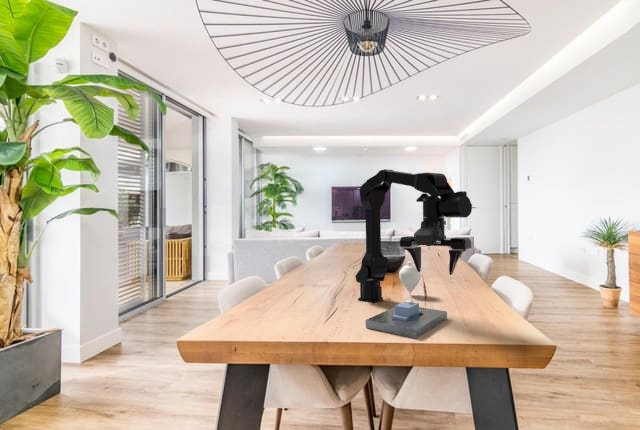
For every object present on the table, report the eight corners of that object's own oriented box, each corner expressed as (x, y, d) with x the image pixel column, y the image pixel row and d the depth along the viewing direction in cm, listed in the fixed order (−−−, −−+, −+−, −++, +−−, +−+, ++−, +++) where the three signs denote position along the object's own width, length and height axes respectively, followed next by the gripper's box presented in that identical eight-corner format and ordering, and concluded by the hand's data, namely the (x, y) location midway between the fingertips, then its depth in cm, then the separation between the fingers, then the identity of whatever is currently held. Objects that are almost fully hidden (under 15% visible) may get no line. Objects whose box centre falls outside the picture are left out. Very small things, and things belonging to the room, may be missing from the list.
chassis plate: (416, 338, 87) (416, 330, 87) (365, 327, 95) (365, 320, 95) (447, 318, 102) (447, 311, 102) (401, 310, 111) (401, 304, 111)
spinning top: (425, 295, 131) (425, 261, 131) (411, 298, 126) (411, 263, 126) (408, 291, 137) (408, 259, 137) (394, 294, 132) (394, 261, 132)
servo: (392, 326, 96) (391, 304, 96) (408, 317, 104) (408, 297, 104) (406, 329, 94) (405, 307, 94) (422, 320, 101) (421, 299, 101)
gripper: (389, 218, 103) (390, 274, 103) (457, 218, 91) (458, 281, 91) (407, 217, 111) (408, 269, 111) (471, 217, 100) (472, 274, 100)
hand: (434, 273), depth 103 cm, fingers open, 9 cm apart
